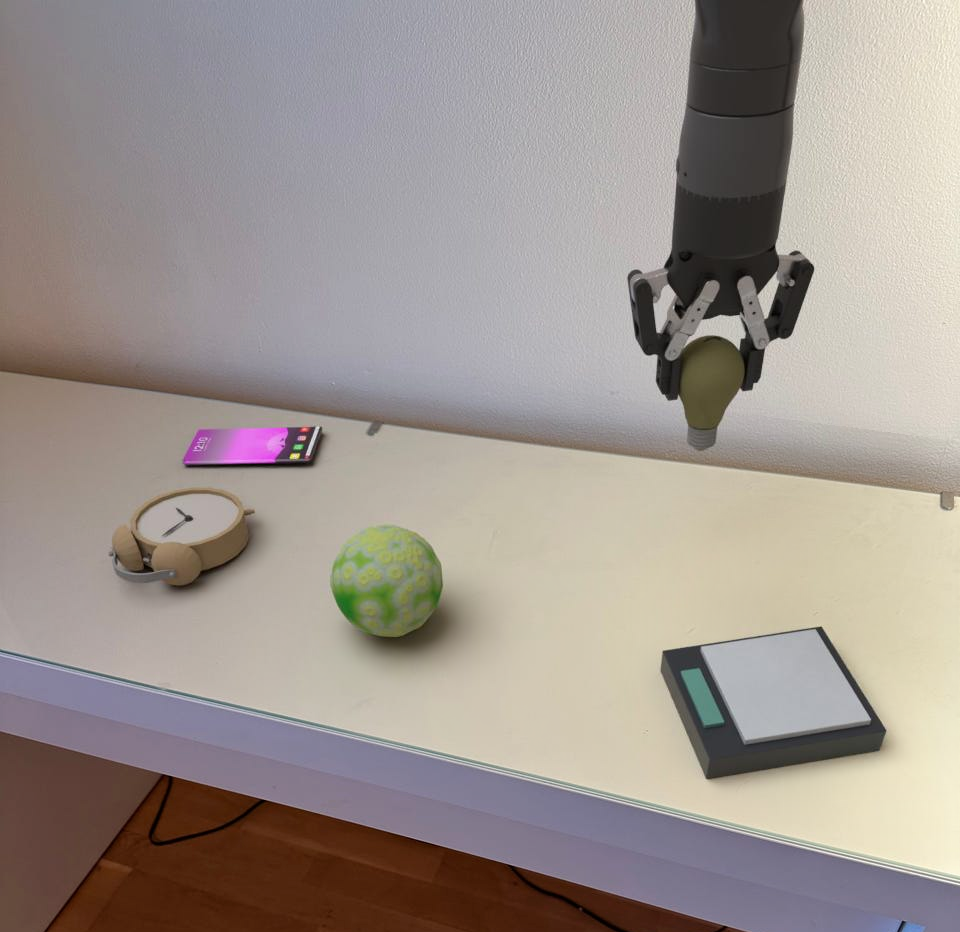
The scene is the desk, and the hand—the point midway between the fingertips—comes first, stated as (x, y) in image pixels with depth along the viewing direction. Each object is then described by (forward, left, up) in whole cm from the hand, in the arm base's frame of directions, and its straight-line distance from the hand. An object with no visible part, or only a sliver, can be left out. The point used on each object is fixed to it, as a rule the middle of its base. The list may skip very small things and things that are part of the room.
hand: (707, 390), depth 78 cm
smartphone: (+41, -32, -19) cm, 55 cm away
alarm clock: (+48, -14, -19) cm, 54 cm away
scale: (-1, +18, -19) cm, 26 cm away
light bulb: (0, 0, -6) cm, 6 cm away
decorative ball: (+28, +1, -19) cm, 34 cm away
